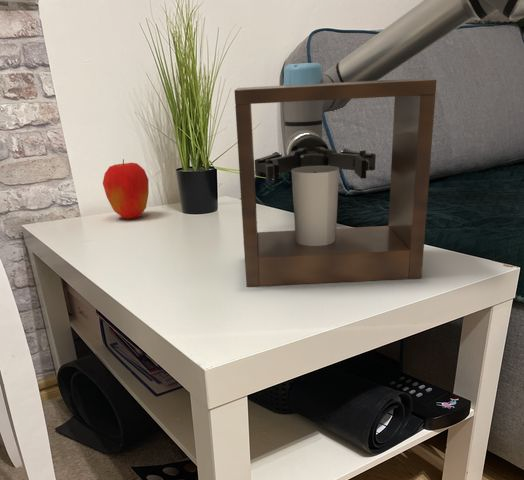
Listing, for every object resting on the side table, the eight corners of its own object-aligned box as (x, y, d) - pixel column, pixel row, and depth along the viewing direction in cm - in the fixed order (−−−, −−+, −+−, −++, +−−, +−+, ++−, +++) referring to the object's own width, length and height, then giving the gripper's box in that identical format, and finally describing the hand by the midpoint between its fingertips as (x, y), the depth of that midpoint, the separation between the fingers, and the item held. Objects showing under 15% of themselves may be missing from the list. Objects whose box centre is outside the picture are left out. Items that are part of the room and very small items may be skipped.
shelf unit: (398, 250, 91) (408, 79, 81) (421, 278, 79) (436, 79, 68) (247, 257, 91) (237, 87, 81) (246, 286, 79) (234, 90, 68)
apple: (146, 210, 128) (139, 154, 123) (158, 218, 121) (150, 158, 115) (105, 216, 125) (95, 158, 119) (113, 224, 117) (104, 163, 112)
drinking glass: (284, 239, 85) (282, 169, 81) (323, 232, 87) (323, 164, 83) (307, 249, 79) (306, 174, 75) (347, 241, 82) (349, 169, 78)
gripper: (373, 172, 110) (398, 192, 91) (243, 178, 110) (241, 200, 91) (374, 130, 107) (401, 142, 88) (240, 137, 107) (238, 150, 88)
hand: (320, 171), depth 89 cm, fingers open, 13 cm apart
